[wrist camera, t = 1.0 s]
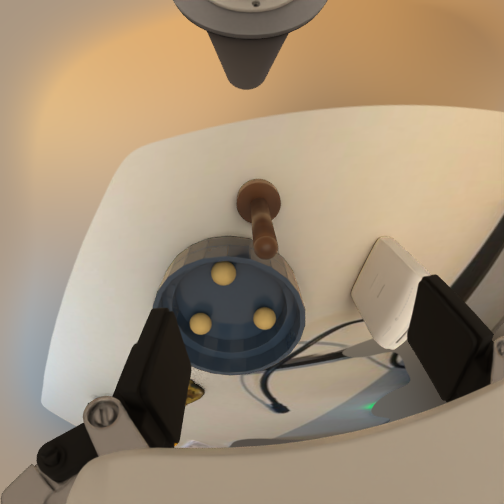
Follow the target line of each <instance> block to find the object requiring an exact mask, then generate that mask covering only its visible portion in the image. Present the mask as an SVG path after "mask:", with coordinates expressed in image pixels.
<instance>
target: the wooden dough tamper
mask: <svg viewBox="0 0 504 504" xmlns="http://www.w3.org/2000/svg"><path fill="white" fill-rule="evenodd" d="M280 206H281V200H280V196H279V194H278V192H277V189H276V188H275V187H274V185H273V184H271V183H270V182H268V181H266V180H263V179H253V180H250V181H248V182H246V183H245V184H244V185H243V186H242V187H241V188H240V190H239V192H238V196H237V209H238V212H239V214H240V215H241V217H242V218H243V219H245V220H246V221H247V222H250V223H252V234H253V249H254V252H255V254H256V256H258V257H259V258H260V259H264V260H268V259H271V258H273V257H274V256H275V255H276V253H277V251H278V244H277V240H276V236H275V232H274V228H273V224H272V220H273V219H274V218H275V217H276V215H277V214H278V212H279V210H280Z"/></svg>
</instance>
